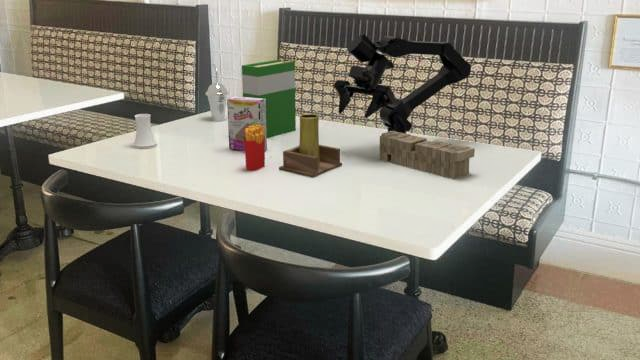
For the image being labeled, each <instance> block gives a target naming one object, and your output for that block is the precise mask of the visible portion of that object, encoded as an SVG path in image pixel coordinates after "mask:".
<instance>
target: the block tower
mask: <svg viewBox="0 0 640 360" xmlns="http://www.w3.org/2000/svg"><path fill="white" fill-rule="evenodd" d="M427 139H428V138H427V137H421V136H419V135H418V136H417V135H414V134H413V135H412V134H409V133H407V132H406V133H401V132H396V131H388V130H387V132H382V133H381V135H379V160H380V161H383V162H390V163H392V164H395V165H397V166H402V167H406V168H409V169H413V170H416V171H421V172H424V173H428V174H431V173H432V175H435V176H439V177H442V176H443V177H442V178H446V177H447V179H450V178H451V179H452V180H455V179H457V178H460V176H461V177H463V176H465V175H467V174H469V173H470V159H472V158H474V157H475V150H476V149H475V148H474V147H471V146H467V145H459V144H454V143H453V144H452V143H450V142H447V141H441V140H439V139H437V140H433V141H432V140H431V141H429V140H427Z"/></svg>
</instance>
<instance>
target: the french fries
mask: <svg viewBox="0 0 640 360" xmlns="http://www.w3.org/2000/svg"><path fill="white" fill-rule="evenodd" d="M264 129H265V127H264V126H260V125H255V126H252V125H251V126H248V128H246V129H245V137H246V138H245V139H244V147H245V151H244V156H245V169H246V171H251V172H253V171H258V170H260V169H262V168H264V167H265V163H266V162H265V159H266V156H265V154H266V153H265V152H266V150H265V135H264Z"/></svg>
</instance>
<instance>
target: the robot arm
mask: <svg viewBox="0 0 640 360" xmlns="http://www.w3.org/2000/svg"><path fill="white" fill-rule="evenodd" d="M346 51H347V52H348V53H349V54H350V55H351V56H353V58H355V59H356V60H357V61H358V62H359V63H361V64H363V63H366V66H365V67H364V66H359V65H358V66H357V65H351V66H350V70H349V72H348V73H349V74H348V77H349V78H352V79H353V83H354V84H355V85H352V84H351V83H350V81H349V80H344V79H336V80H335V82H334V84H333V88H334V90H335V91H336V92H337V94H338V95H339V101H338V102H339V104H338V114H342V113H344V111H345V109H346V108H347V107H348V105H349V103H350V102H351V100H352V97H353V96H354V94H360V95H363V96H371V97H372V98H371V101H370V103H369V105H368V107H367V109H366V111H365V114H364V118H365V119H367V118H369V117H371V116H372V115H373V114H374V113H376V112H377V111H379V119H380V120H381V121H382V122H383V125H384V127H387V132H388V131H396V132H401V133H406V134H407V132H410V131H411V129H412V127H413V124H412V123H411V122H410V121H409V120H408V119H409V117H410V116H411V113H412V111H414V109H416V108H417V107H419V106H421V105H422V104H423V103H425V102H426V101H428V100H429V99H430V98H432V97H433V96H435V95H436V94H438V93H439V92H441V90H443V89H444V88H446V87H448V86H450V85H453V84H456V83H459V82H462V81H463V80H466V79H467V78H469V76H470V75H471V71H472V67H471V64H470V63H469V62H468V61H467V60H465V57H463V56H462V55H461V54H460V53H459V52H458V51H457V50H456V49H455V47H454V46H453V45H452V44H451V43H450V42H447V41H421V40H420V41H418V40H417V41H416V40H408V39H403V38H399V37H395V36H392V35H391V36H390V35H384V36H383V37H382V38H381V39H380V40H378V41H375V42H373V41H372V40H370V39H369V37H368V36H367V35H366V34H365V33H362V32H361V33H360V34H359V36H357V37H355V38H354V39H353V40H351V41H350V42H349V44H348V45H347V49H346ZM413 54H414V55H432V56H433V55H437V56H438V57H439V60H440V63H441V64H442V66H441V67H440V68H439V69H440V70H439V71H438V73H436V75H434V76H433V77H432V78H430V79H428V80H427V81H425V82H424V83H423V84H422V85H420V86H418V88H416V89H414V90H413V91H412V92H410V93H409V94H408V95H406V96H404V97H403V98H400V99H399V98H397V97H396V95H395V93H394V92H393V90H392V88H391V87H390V85H386V84H383V80H382V77H383V76H384V73H385V72H386V71H387V70H389V69H394V68H395V65H394V63H393V60H392V59H389V58H387V57H388V56H389V57H392V58H400V57H404V56H407V55H413ZM386 56H387V57H386Z"/></svg>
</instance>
